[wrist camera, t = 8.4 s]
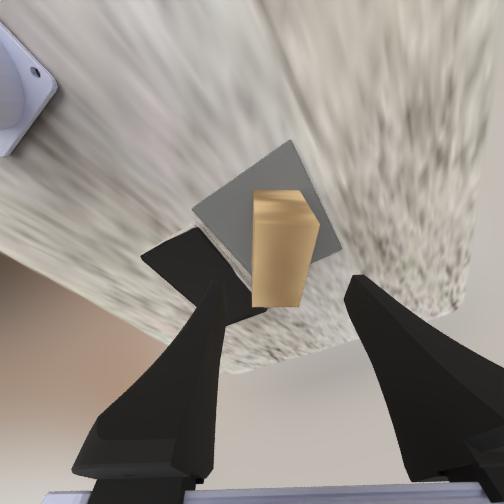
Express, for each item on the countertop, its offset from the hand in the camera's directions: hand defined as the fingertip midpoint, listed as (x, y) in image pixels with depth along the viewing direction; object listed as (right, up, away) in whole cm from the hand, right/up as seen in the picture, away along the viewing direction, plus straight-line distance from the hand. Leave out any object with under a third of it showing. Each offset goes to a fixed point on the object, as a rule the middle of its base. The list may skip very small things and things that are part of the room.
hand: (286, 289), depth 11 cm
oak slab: (0, +4, +8) cm, 9 cm away
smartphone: (-7, -1, +13) cm, 15 cm away
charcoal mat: (0, +4, +8) cm, 9 cm away
